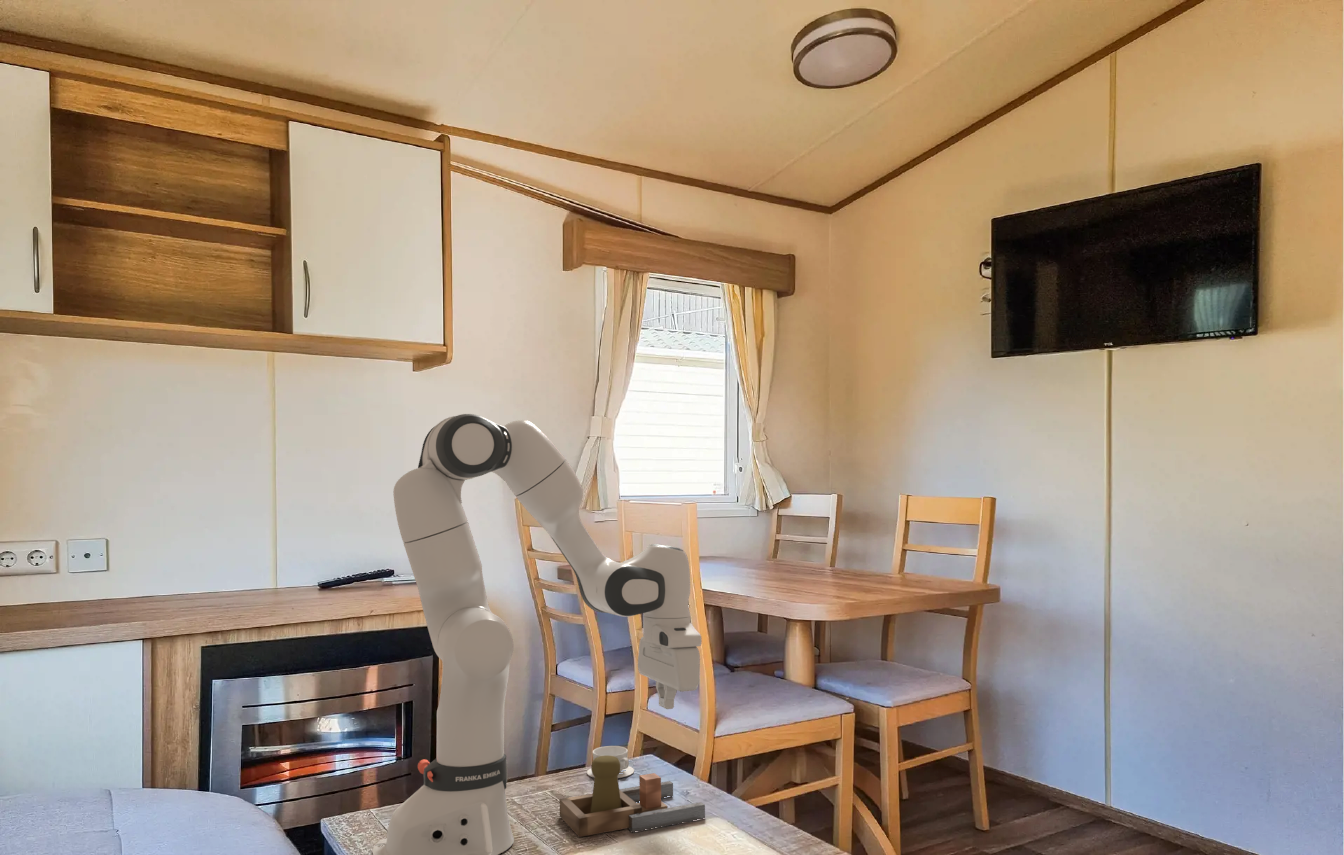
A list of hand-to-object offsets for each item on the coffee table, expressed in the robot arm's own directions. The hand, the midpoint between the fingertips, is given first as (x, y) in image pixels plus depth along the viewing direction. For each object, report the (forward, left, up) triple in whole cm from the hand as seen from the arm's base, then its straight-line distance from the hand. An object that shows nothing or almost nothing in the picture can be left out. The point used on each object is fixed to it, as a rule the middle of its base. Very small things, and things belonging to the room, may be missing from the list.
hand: (666, 707), depth 160 cm
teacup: (-1, +26, -19) cm, 32 cm away
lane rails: (-3, 0, -18) cm, 19 cm away
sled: (-10, 0, -18) cm, 21 cm away
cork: (-12, 0, -19) cm, 22 cm away
